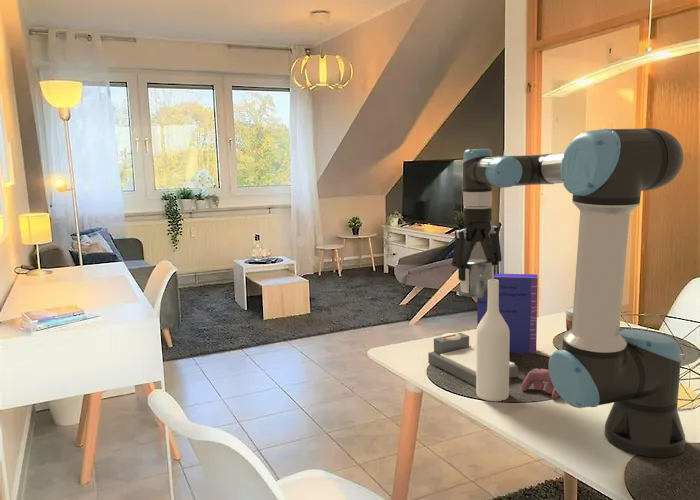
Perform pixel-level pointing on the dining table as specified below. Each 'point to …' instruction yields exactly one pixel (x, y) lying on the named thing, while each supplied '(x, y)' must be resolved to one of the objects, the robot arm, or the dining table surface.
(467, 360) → the platform scale
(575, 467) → the dining table surface
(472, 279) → the steel weight
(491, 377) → the bottle
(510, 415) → the dining table surface
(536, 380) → the video game controller
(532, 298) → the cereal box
